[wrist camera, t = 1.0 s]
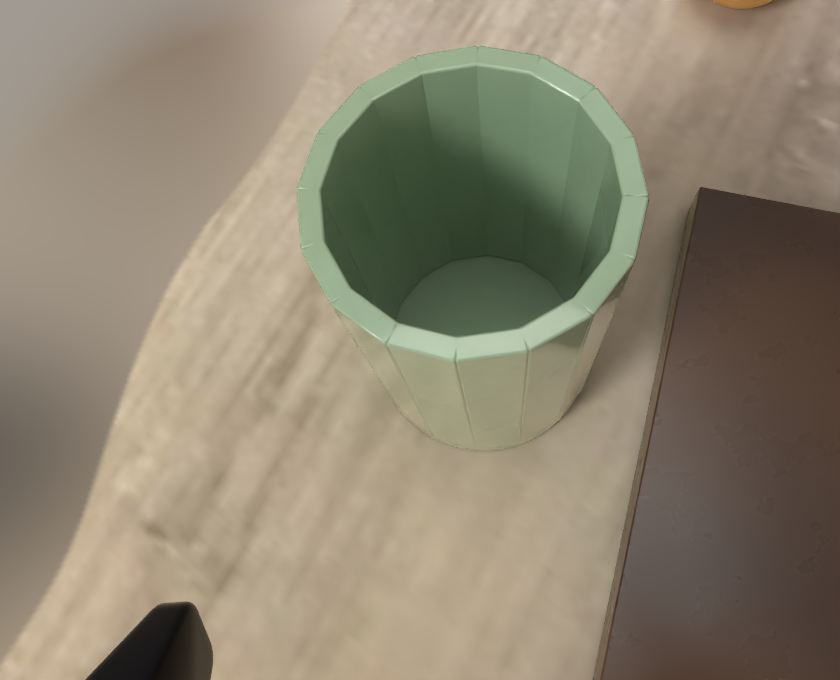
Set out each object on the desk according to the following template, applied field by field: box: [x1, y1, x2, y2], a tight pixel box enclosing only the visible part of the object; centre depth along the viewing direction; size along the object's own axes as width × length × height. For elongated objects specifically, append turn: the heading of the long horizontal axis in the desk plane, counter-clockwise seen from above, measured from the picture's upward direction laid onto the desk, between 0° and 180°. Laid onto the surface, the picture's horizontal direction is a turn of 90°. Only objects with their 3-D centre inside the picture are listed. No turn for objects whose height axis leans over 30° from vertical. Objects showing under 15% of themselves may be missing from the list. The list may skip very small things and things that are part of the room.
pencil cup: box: [297, 46, 649, 451], centre depth 20 cm, size 7×7×10 cm
